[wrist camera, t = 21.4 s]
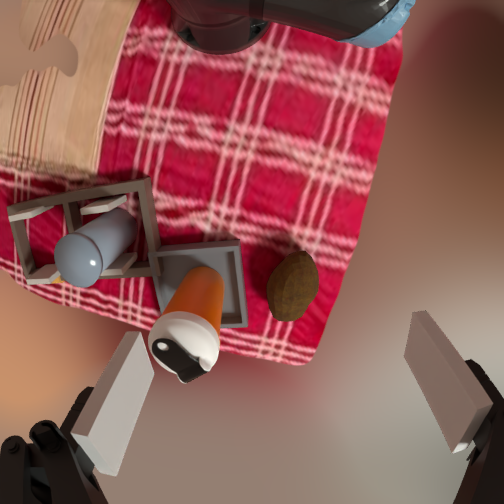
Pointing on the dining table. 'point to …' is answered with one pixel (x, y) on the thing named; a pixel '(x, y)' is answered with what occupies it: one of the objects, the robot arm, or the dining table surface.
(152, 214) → the rack
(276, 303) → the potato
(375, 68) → the dining table surface
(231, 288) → the tray
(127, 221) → the canister
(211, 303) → the shaker bottle
